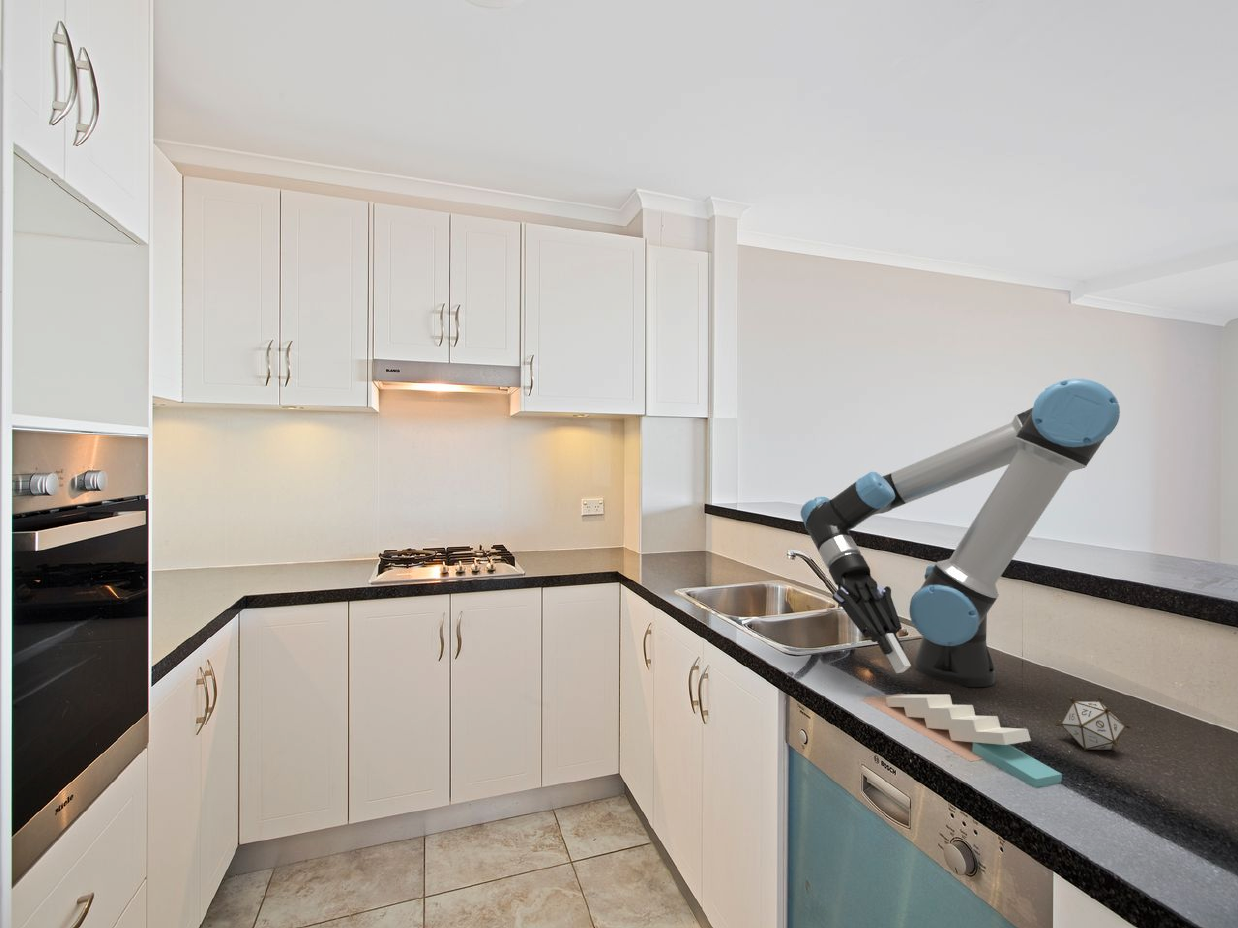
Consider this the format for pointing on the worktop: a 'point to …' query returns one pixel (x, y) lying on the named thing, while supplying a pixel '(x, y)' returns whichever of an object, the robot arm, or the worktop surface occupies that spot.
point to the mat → (924, 728)
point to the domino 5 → (1017, 764)
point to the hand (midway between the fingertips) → (903, 669)
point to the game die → (1093, 725)
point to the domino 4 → (992, 736)
